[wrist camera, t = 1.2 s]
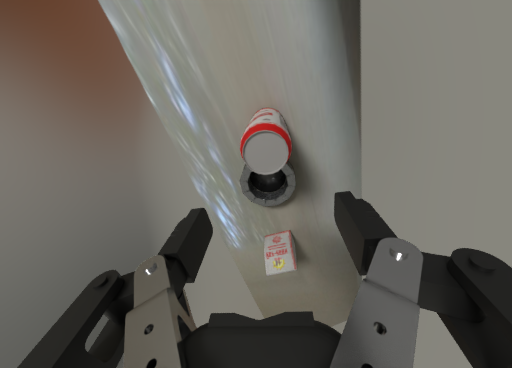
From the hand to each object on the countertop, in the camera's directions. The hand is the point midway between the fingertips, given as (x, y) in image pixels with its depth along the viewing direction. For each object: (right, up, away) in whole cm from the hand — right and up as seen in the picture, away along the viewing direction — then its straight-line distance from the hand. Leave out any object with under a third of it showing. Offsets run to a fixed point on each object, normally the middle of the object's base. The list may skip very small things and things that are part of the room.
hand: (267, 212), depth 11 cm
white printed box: (+5, -12, +36) cm, 39 cm away
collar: (+2, +3, +28) cm, 28 cm away
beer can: (+1, +13, +23) cm, 26 cm away
